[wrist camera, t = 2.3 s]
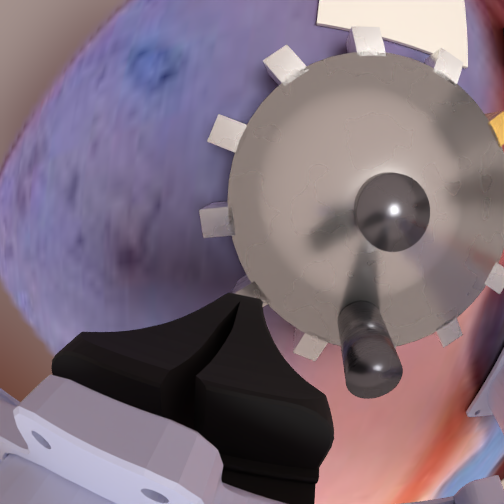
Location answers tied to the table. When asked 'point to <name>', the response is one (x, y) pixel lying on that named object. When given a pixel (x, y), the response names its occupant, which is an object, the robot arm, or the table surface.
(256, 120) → the sprocket
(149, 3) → the table surface
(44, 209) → the table surface
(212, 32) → the table surface
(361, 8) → the pad
